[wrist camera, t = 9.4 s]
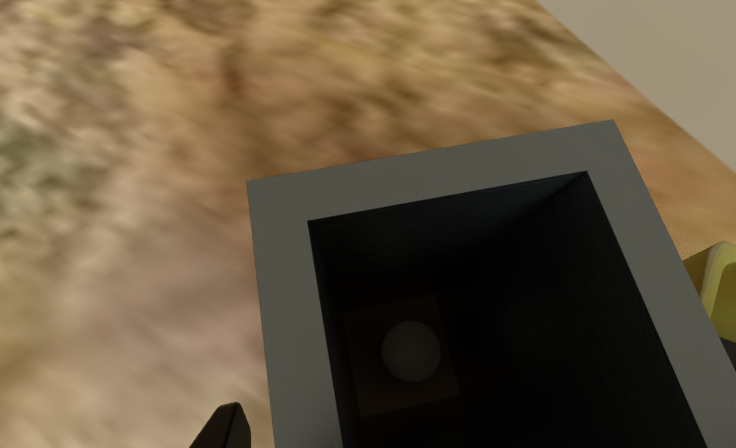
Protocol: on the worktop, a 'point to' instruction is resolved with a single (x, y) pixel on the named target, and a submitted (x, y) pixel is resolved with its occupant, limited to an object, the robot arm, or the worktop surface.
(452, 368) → the tan piece
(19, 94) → the worktop surface
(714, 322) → the flower pot
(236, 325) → the worktop surface
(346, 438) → the open square box
